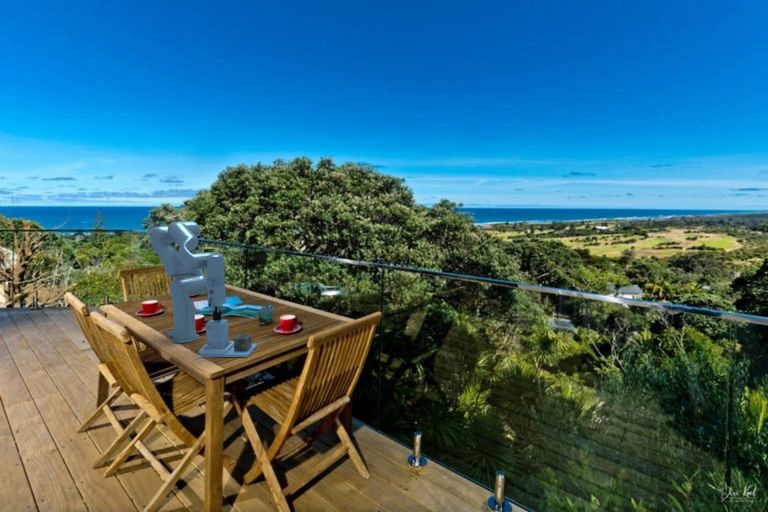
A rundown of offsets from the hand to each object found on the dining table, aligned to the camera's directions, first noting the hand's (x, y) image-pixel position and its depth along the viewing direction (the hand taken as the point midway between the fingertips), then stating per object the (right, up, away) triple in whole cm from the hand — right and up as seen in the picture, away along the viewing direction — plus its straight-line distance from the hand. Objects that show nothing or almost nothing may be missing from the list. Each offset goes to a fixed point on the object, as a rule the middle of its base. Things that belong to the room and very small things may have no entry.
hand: (217, 320), depth 178 cm
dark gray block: (+11, -14, +2) cm, 18 cm away
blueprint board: (+5, -15, +2) cm, 16 cm away
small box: (-1, -14, +2) cm, 14 cm away
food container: (+10, -10, +46) cm, 48 cm away
